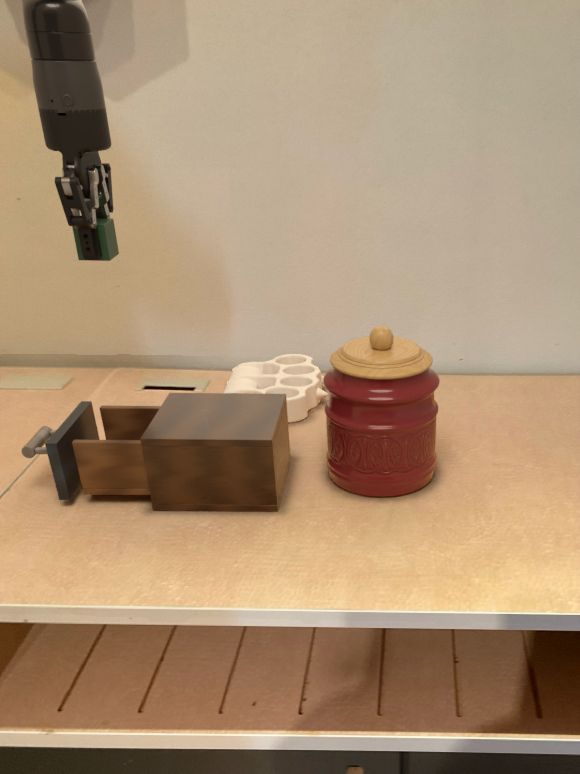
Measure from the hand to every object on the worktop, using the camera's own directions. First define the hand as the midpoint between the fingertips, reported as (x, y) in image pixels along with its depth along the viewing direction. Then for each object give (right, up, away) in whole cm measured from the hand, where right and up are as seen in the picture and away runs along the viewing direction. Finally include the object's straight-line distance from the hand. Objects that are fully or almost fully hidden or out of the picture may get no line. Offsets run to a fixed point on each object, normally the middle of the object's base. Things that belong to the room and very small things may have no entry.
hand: (98, 254), depth 102 cm
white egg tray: (+22, -17, +11) cm, 30 cm away
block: (0, 0, 0) cm, 0 cm away
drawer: (+6, -30, -12) cm, 32 cm away
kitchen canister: (+37, -29, -8) cm, 48 cm away
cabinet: (+19, -30, -11) cm, 37 cm away
